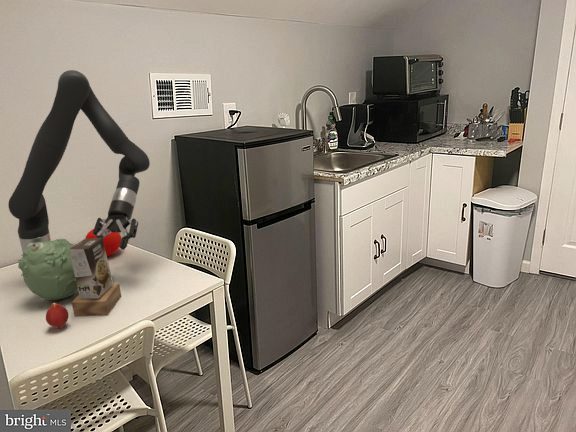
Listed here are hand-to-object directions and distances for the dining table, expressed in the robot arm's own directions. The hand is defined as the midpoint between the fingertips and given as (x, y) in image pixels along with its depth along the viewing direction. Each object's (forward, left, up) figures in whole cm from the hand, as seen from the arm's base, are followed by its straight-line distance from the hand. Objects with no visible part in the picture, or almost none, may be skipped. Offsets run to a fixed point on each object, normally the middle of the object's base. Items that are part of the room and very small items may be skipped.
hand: (109, 248), depth 151 cm
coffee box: (+1, -11, -10) cm, 15 cm away
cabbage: (-16, -7, -15) cm, 23 cm away
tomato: (-21, +28, -15) cm, 38 cm away
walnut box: (0, -11, -15) cm, 19 cm away
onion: (-4, -24, -15) cm, 29 cm away
